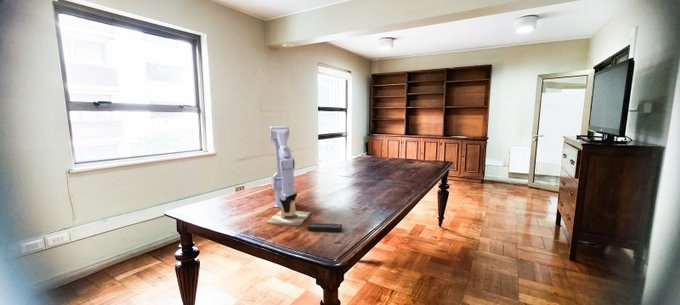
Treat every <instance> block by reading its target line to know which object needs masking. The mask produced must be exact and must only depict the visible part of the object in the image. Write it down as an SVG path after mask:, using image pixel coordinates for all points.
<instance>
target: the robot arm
mask: <svg viewBox="0 0 680 305" xmlns="http://www.w3.org/2000/svg"><path fill="white" fill-rule="evenodd" d="M289 136H290V127H289V126H288V125H278V126H277V125H275V126H273V125H270V127H269V140H270V142H272V143H273V145H274V148H275V150H274V151H275V164H276V172H274V174H273V175H272V177H271V188H272V190H273V191H274V195H275V197H274V199H275V204H274V205H273V206H272V208H280V209H281V203H282V206H283V209H284V212H285V213H289V211H290V204H291V200H292V201H295V202H296V198H297V196H298V194H297V193H296V188H295V178H294V177H295V175H294V173H295V172H294V170H295V167H296V163H295V162H296V161H295V158H294V157H293V156H292V152H291V147H289V146H288V145H287V144H288V142H287V141H288V139H289Z"/></svg>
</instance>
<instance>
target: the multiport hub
mask: <svg viewBox="0 0 680 305" xmlns="http://www.w3.org/2000/svg"><path fill="white" fill-rule="evenodd" d="M342 230H343V224H341V223H323V222H322V223H319V222H316V223H315V222H310V223H308V226H307V232H322V233H324V232H325V233H341V232H342Z"/></svg>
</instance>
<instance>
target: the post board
mask: <svg viewBox="0 0 680 305" xmlns="http://www.w3.org/2000/svg"><path fill="white" fill-rule="evenodd" d="M310 215H311V211H300V210H299V211H298V210H295V213H294V214H293V215H292V216H281V210H279V211H278V212H277V213H275V214H274V215H272V216H271V217H270V218H269V219H268V220H266V224H270V225H282V226H283V225H284V226H293V227H299V226H300V225H301V224H302V223H304V221H306V219H307V218H309V216H310Z"/></svg>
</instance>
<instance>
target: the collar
mask: <svg viewBox="0 0 680 305" xmlns="http://www.w3.org/2000/svg"><path fill="white" fill-rule="evenodd" d="M280 211H281V216H292V215H293V214H294V213H295V211H296V200H295V201H292V200H291V204H290V211H289V213H285V212H284V209H283V206H282V203H281V208H280Z"/></svg>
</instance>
